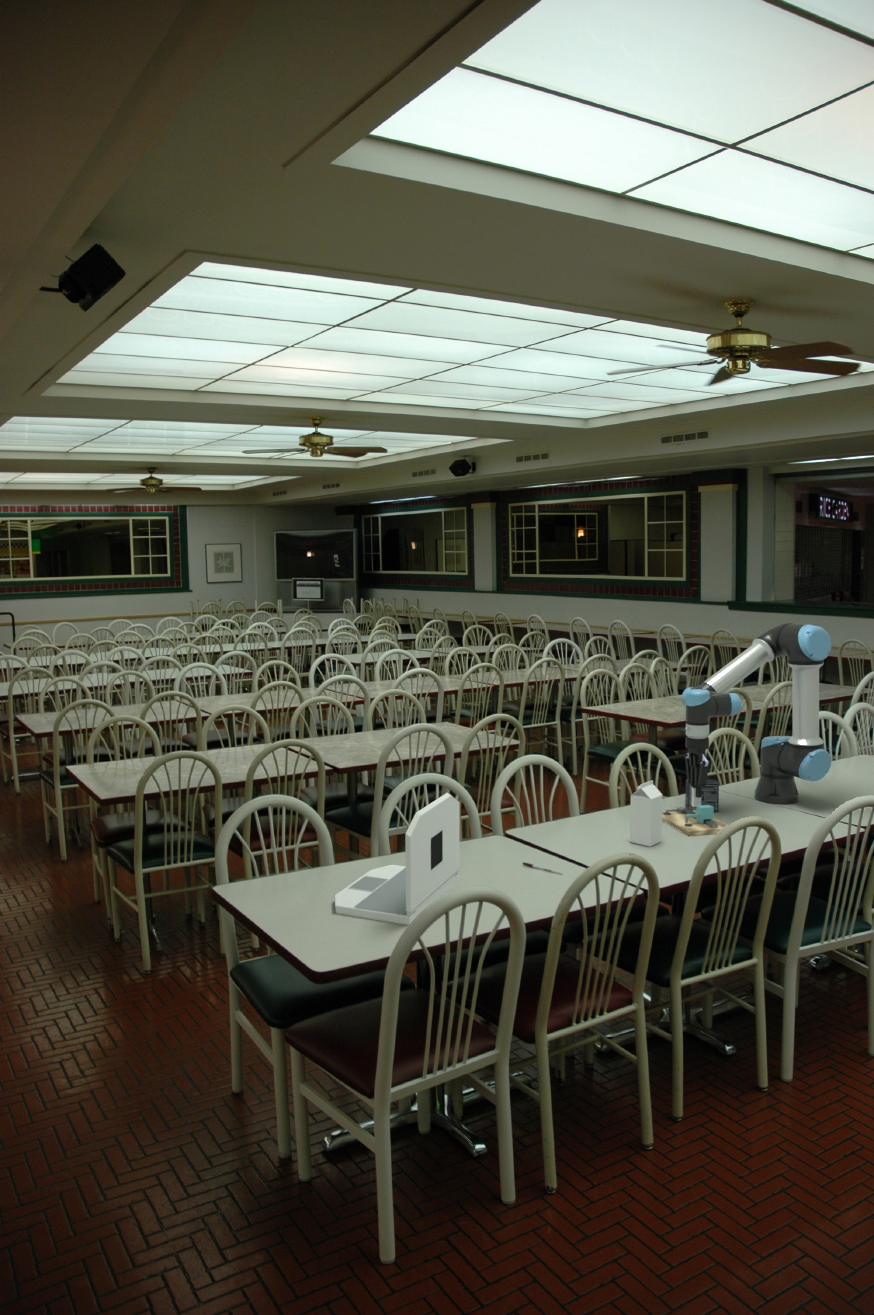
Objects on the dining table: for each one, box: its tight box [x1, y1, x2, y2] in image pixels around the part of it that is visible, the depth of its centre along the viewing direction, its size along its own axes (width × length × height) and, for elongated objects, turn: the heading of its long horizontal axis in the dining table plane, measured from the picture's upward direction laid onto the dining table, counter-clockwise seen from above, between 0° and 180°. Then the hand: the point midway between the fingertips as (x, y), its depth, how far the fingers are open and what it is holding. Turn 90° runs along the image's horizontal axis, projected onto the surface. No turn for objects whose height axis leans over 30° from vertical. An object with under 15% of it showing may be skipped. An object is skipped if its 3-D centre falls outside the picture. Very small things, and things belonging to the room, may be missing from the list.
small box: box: [684, 778, 720, 813], centre depth 323 cm, size 11×6×10 cm, turn 84°
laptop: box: [334, 792, 460, 926], centre depth 242 cm, size 33×24×26 cm
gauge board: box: [662, 810, 728, 836], centre depth 306 cm, size 16×22×2 cm
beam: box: [665, 806, 718, 828], centre depth 306 cm, size 9×20×1 cm, turn 15°
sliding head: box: [685, 805, 714, 824], centre depth 302 cm, size 9×3×5 cm, turn 105°
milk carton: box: [629, 780, 663, 847], centre depth 287 cm, size 7×7×19 cm
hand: (696, 806), depth 309 cm, fingers closed
